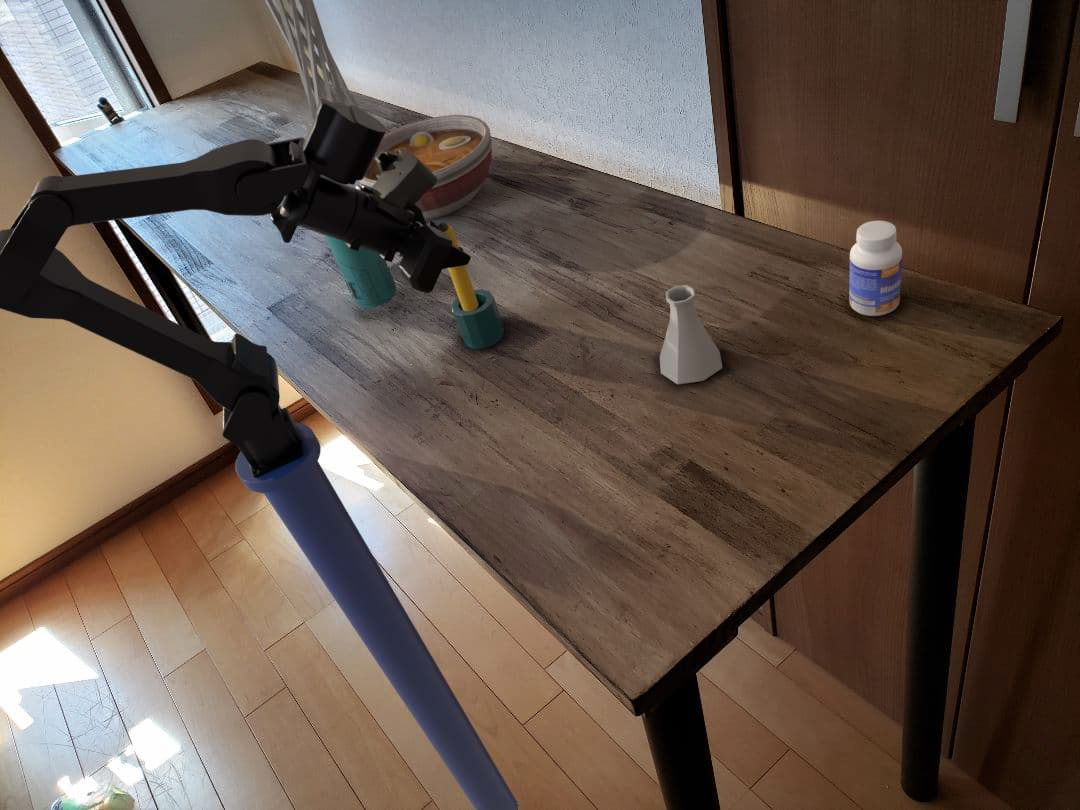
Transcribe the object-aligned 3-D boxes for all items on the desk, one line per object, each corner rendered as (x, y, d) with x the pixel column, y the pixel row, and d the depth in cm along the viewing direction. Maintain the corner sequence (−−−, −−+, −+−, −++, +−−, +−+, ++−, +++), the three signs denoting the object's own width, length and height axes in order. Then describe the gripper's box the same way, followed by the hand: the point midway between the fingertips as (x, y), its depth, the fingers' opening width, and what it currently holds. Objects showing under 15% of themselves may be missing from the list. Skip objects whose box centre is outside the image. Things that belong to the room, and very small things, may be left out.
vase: (393, 136, 167) (324, -53, 144) (377, 168, 157) (300, -30, 135) (331, 148, 170) (254, -36, 148) (311, 180, 161) (226, -12, 138)
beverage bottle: (410, 293, 122) (359, 168, 109) (381, 321, 118) (325, 195, 105) (377, 287, 125) (324, 165, 112) (349, 314, 121) (291, 191, 108)
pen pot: (472, 354, 107) (459, 320, 104) (458, 334, 111) (446, 300, 108) (509, 337, 108) (498, 303, 104) (495, 317, 112) (484, 284, 108)
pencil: (465, 313, 102) (435, 229, 94) (460, 306, 103) (430, 223, 96) (480, 307, 102) (452, 222, 94) (475, 299, 104) (446, 216, 96)
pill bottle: (886, 322, 94) (890, 248, 87) (840, 310, 97) (841, 238, 91) (907, 295, 96) (912, 221, 90) (862, 285, 99) (863, 213, 93)
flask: (673, 393, 93) (661, 322, 87) (649, 357, 99) (636, 288, 92) (733, 371, 93) (726, 299, 87) (706, 336, 99) (697, 266, 92)
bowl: (465, 155, 153) (449, 103, 146) (530, 191, 136) (515, 134, 130) (354, 211, 146) (332, 158, 140) (409, 255, 130) (387, 198, 124)
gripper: (404, 169, 80) (531, 222, 89) (347, 118, 94) (463, 169, 103) (359, 273, 83) (486, 313, 93) (311, 209, 97) (426, 250, 106)
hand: (465, 256), depth 99 cm, fingers closed on pencil, 2 cm apart
